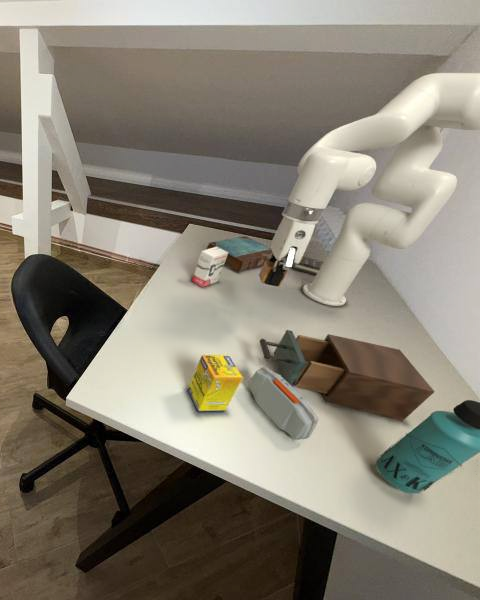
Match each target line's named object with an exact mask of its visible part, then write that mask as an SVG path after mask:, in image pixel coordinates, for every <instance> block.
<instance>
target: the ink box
mask: <svg viewBox="0 0 480 600" xmlns="http://www.w3.org/2000/svg"><path fill="white" fill-rule="evenodd" d="M227 255H228V252H226V251H224V250H222V249H221V248H219V247H213V248H210V249H207V248H205V249H203V250H201V252H200V255H199V258H198V261H197V264H196V268H195V270H194V274H193V277H192V279H191V280H192V283H195V284H196V285H198V286H199V287H201V288H203V287H207V286H210V285H212V284H215V283H218V281H219V279H220V276H221V273H222V271H223V268H224V266H225V265H224V263H225V261H226V258H227Z"/></svg>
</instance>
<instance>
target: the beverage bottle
mask: <svg viewBox="0 0 480 600" xmlns="http://www.w3.org/2000/svg"><path fill="white" fill-rule="evenodd" d="M452 409H453V411H447V410H434V411H433V412H431V413H430V415H429V416H427V418H425V419H424V420H422V421H421V422H420V423H419V424H418V425H417V426H415V427H414V428H413V429H412V430H411V431H409V432H407V433H405V435H403V436H402V437H400V438H399V439H397V441H396V442H394V443H393V444H391V446H389V447H388V448H387V449H386V450H384V452H382V453H381V455H379V457H377V459H376V462H375V463H376V464H375V466H376V469H377V471H378V473H379V474H380V475H381V477H383V479H384V480H385V481H386V482H388V484H390V485H391V486H393V487H394V488H396V489H398V490H399V491H401V492H403V493H407V494H410V495H411V494H412V495H413V494H420V493H422V492H426V491H427V490H428V489H430V488H431V487H432V486H435V485H436V484H438V483H439V481H440V480H443V479H444V478H446V477H447V476H448V475H449V474H453V472H454V471H455V470H456V469H458V468H462V466H463V464H465V463H466V462H468V461H469V460H471V459H472V458H473V457H475V456H476V455H478V454H479V453H480V401H476V400H473V399H466V400H463V401H462V402H461V403H459V404H457V405H455V406H454V407H453V408H452Z"/></svg>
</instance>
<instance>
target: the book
mask: <svg viewBox="0 0 480 600" xmlns="http://www.w3.org/2000/svg"><path fill="white" fill-rule="evenodd" d="M213 247H219V248H221V249H222V250H224V251H226V252H228V255H227V258H226V261H225V263H224V266H225V267H227V268H229V269H230V270H233V271H235V272H236V273H242V272H245V271H250V270H254V269H257V268H258V269H259V268H262V267H263V265H264V263H265V261H268V257H269V256H270V254H271V251H272V250H271V246H268V245H266V244H264V243H261V242H260V241H257V240H254V239H253V238H250V237H248V236H246V235H245V236H238V237H233V238H227V239H222V240H216V241H211V242H208V245H207V246H206V249H210V248H213Z"/></svg>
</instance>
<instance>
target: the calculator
mask: <svg viewBox="0 0 480 600" xmlns="http://www.w3.org/2000/svg"><path fill="white" fill-rule="evenodd" d="M323 263H324V261H322V260H318V259H314V258H311V257H308V256H307V257H306V256H304V255H303V256H302V258H301V260H300V262H299V263H298V264H294V262H293V263H292V267H291V269H292V270H296V271H300V272H304V273H307V274H310V275H313V276H316V275H317V273H318V271H319V269H320V268H321V266H322V264H323Z"/></svg>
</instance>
